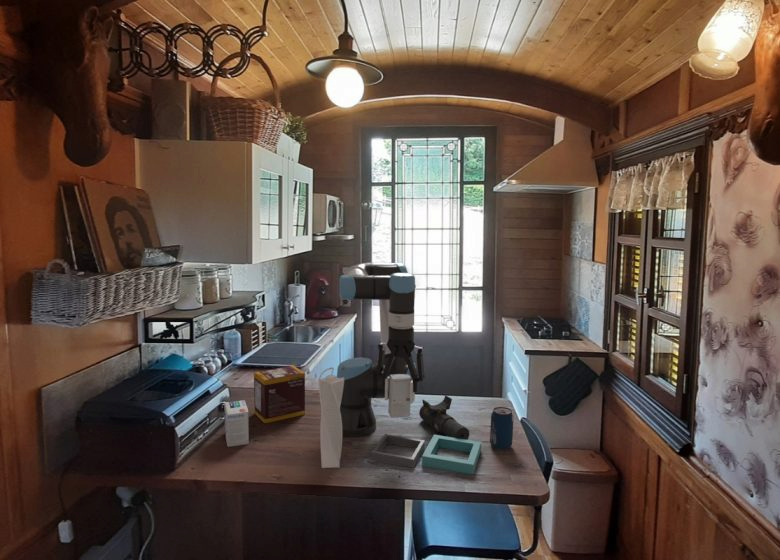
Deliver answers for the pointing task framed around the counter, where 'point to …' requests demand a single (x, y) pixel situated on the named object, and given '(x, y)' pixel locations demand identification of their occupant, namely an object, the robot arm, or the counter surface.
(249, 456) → the counter surface
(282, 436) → the counter surface
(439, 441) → the teal square frame
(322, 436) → the skyscraper
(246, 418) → the light bulb box
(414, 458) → the gray picture frame
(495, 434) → the soda can
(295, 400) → the supplement box
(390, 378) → the skincare box
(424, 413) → the laser sight
